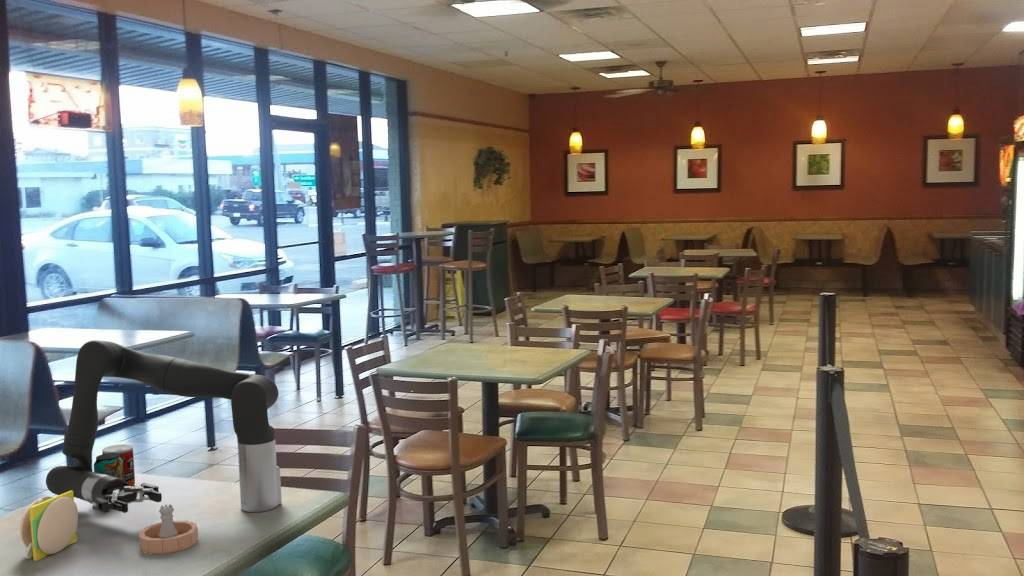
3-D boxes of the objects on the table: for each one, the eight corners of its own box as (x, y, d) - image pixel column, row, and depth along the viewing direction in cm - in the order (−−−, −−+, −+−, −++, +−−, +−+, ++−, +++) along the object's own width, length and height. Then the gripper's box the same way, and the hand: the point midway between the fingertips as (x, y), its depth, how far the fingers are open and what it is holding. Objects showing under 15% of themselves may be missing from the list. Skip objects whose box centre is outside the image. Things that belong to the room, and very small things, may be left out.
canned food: (124, 491, 249) (121, 452, 248) (98, 490, 251) (95, 451, 250) (141, 483, 257) (138, 444, 256) (115, 482, 258) (113, 443, 257)
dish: (176, 530, 219) (176, 517, 218) (209, 540, 211) (208, 527, 211) (128, 546, 209) (127, 533, 208) (160, 558, 201) (159, 544, 201)
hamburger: (55, 539, 215) (51, 488, 214) (84, 542, 212) (81, 491, 211) (14, 558, 203) (10, 505, 202) (44, 561, 201) (40, 508, 200)
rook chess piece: (166, 545, 207) (164, 510, 206) (153, 541, 209) (151, 507, 208) (183, 538, 211) (180, 504, 210) (170, 535, 213) (168, 501, 212)
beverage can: (118, 504, 238) (115, 459, 237) (91, 505, 239) (88, 460, 237) (129, 496, 245) (126, 452, 244) (103, 496, 246) (100, 452, 244)
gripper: (75, 483, 218) (114, 495, 208) (131, 468, 229) (169, 479, 220) (77, 514, 219) (116, 527, 209) (132, 498, 230) (171, 509, 221)
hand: (143, 502), depth 214 cm, fingers open, 8 cm apart
